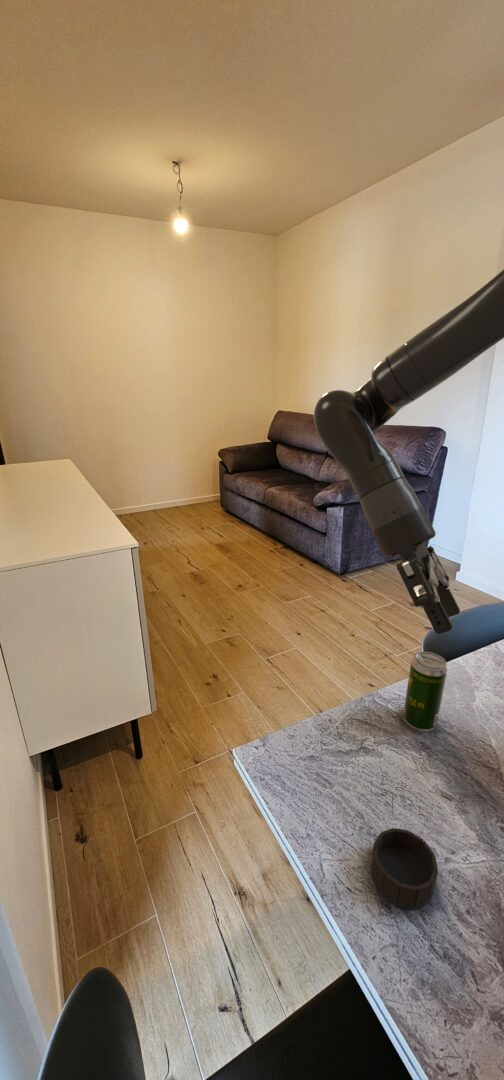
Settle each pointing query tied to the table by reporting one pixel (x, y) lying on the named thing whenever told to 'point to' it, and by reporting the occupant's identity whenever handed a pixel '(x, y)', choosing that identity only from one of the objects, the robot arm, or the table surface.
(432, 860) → the coaster dock
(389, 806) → the table surface
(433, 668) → the beer can
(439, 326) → the robot arm
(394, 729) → the table surface
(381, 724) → the table surface
